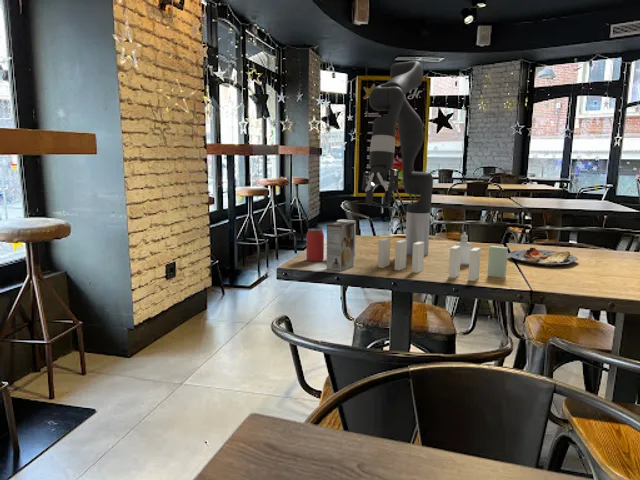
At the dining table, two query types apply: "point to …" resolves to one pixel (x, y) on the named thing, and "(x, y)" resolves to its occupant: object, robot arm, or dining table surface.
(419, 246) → the domino
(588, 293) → the dining table surface
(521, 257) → the food plate
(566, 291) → the dining table surface
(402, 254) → the domino
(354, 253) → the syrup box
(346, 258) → the coffee box
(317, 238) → the beer can
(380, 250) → the domino
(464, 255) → the eye dropper bottle
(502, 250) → the sage domino
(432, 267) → the dining table surface
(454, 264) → the domino
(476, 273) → the domino
